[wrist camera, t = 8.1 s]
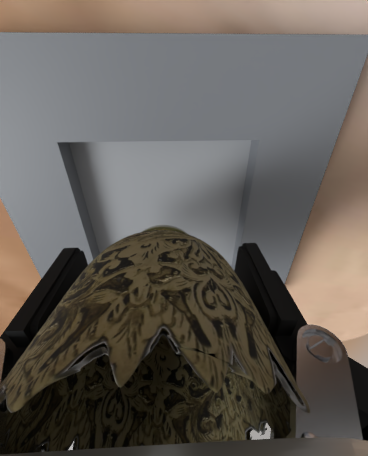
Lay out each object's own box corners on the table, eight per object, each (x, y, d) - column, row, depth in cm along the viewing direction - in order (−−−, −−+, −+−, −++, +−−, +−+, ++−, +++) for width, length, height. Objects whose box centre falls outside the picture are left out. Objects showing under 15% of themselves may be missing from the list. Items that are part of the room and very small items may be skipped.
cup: (124, 151, 9) (-33, 344, 2) (260, 222, 11) (400, 429, 4) (77, 270, 12) (-43, 491, 5) (188, 306, 14) (202, 496, 8)
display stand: (-34, 43, 10) (-85, 31, 8) (336, 45, 11) (374, 34, 9) (74, 296, 20) (62, 320, 18) (264, 289, 20) (274, 311, 18)
